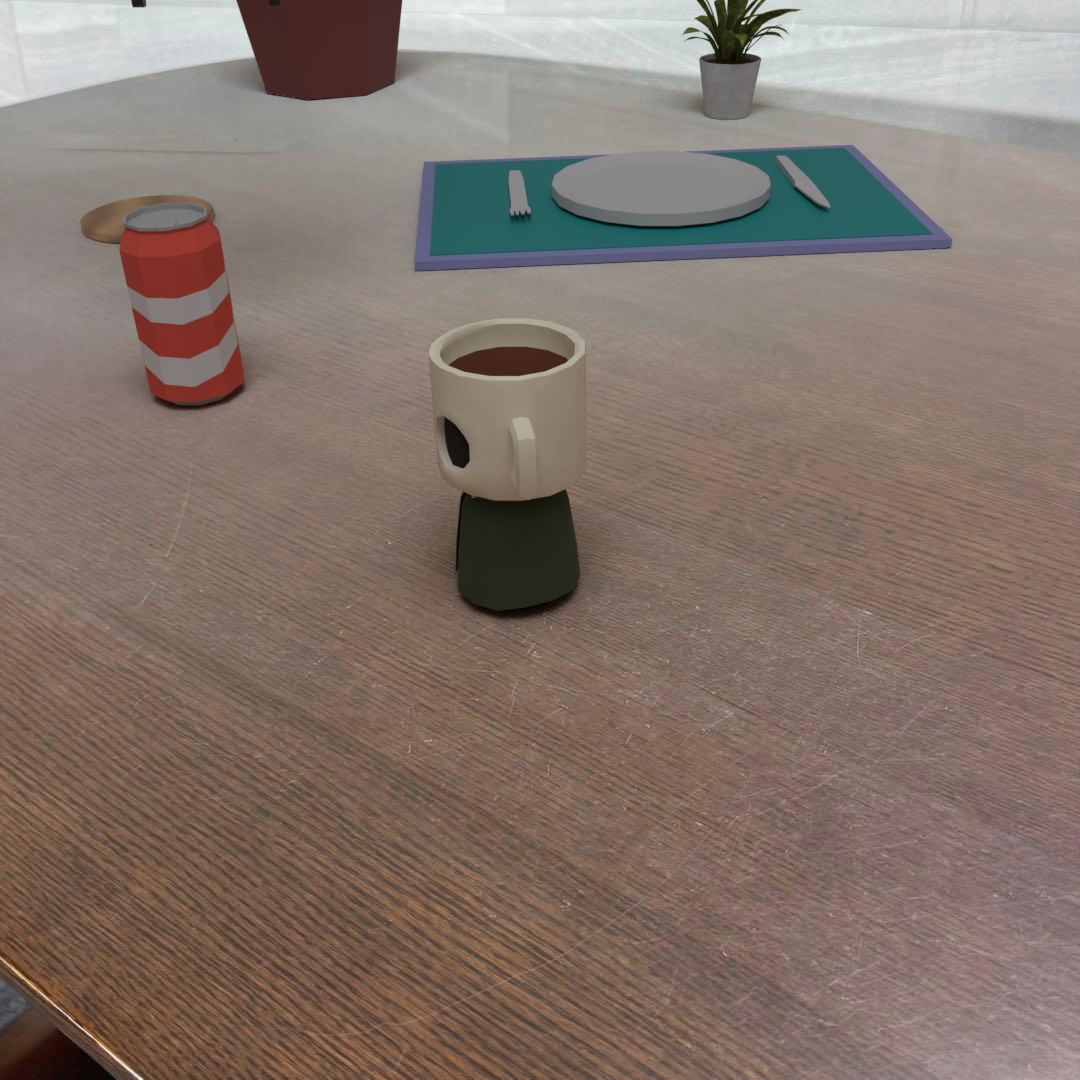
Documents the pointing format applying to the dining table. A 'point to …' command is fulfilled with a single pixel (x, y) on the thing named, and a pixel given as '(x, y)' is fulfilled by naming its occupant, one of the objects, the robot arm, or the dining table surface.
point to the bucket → (324, 45)
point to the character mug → (511, 454)
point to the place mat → (663, 208)
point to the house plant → (731, 56)
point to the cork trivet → (110, 217)
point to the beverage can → (181, 303)
